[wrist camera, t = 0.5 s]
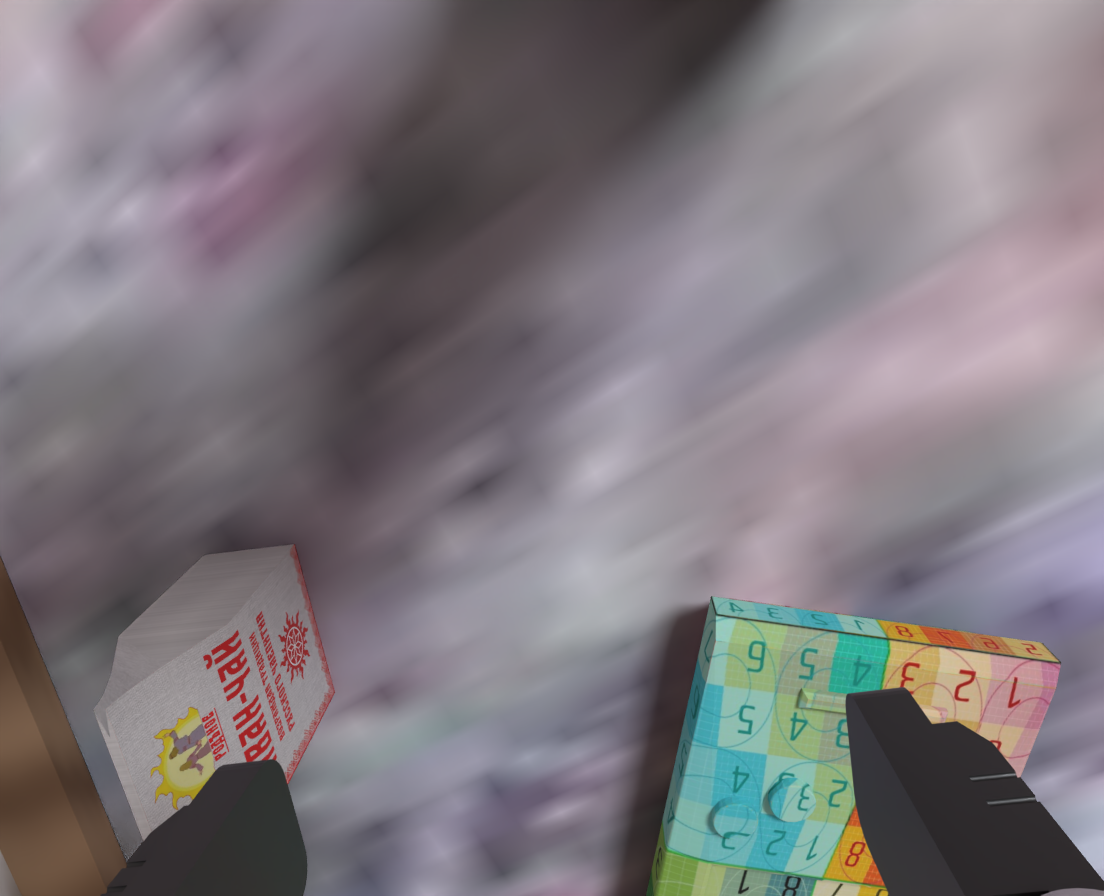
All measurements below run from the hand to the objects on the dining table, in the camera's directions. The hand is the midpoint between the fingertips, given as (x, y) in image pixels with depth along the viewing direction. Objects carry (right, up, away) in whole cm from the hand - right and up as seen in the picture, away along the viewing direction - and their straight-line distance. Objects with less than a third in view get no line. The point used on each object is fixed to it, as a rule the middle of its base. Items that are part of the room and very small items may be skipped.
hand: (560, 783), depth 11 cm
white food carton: (-11, -2, +21) cm, 24 cm away
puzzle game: (+10, -10, +23) cm, 27 cm away
